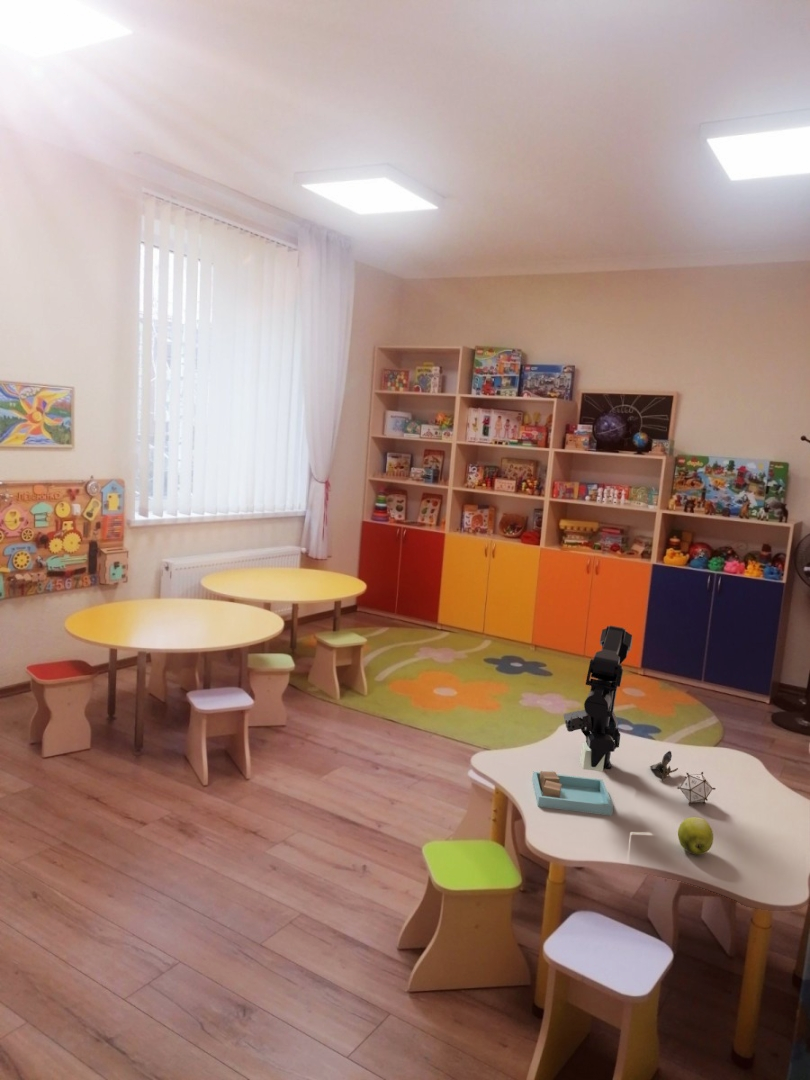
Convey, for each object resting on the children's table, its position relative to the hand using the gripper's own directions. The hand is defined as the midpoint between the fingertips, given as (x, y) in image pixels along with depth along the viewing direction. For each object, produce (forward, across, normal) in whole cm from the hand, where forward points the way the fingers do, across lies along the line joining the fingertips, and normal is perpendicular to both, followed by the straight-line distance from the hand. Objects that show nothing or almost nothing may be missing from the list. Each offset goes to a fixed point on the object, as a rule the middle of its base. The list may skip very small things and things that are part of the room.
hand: (591, 762), depth 202 cm
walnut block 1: (+10, -3, -10) cm, 14 cm away
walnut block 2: (+10, +3, -10) cm, 14 cm away
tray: (+11, 0, -4) cm, 11 cm away
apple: (+11, +19, +22) cm, 31 cm away
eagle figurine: (+11, -22, +26) cm, 36 cm away
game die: (+11, -7, +30) cm, 33 cm away
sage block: (+1, 0, 0) cm, 1 cm away
